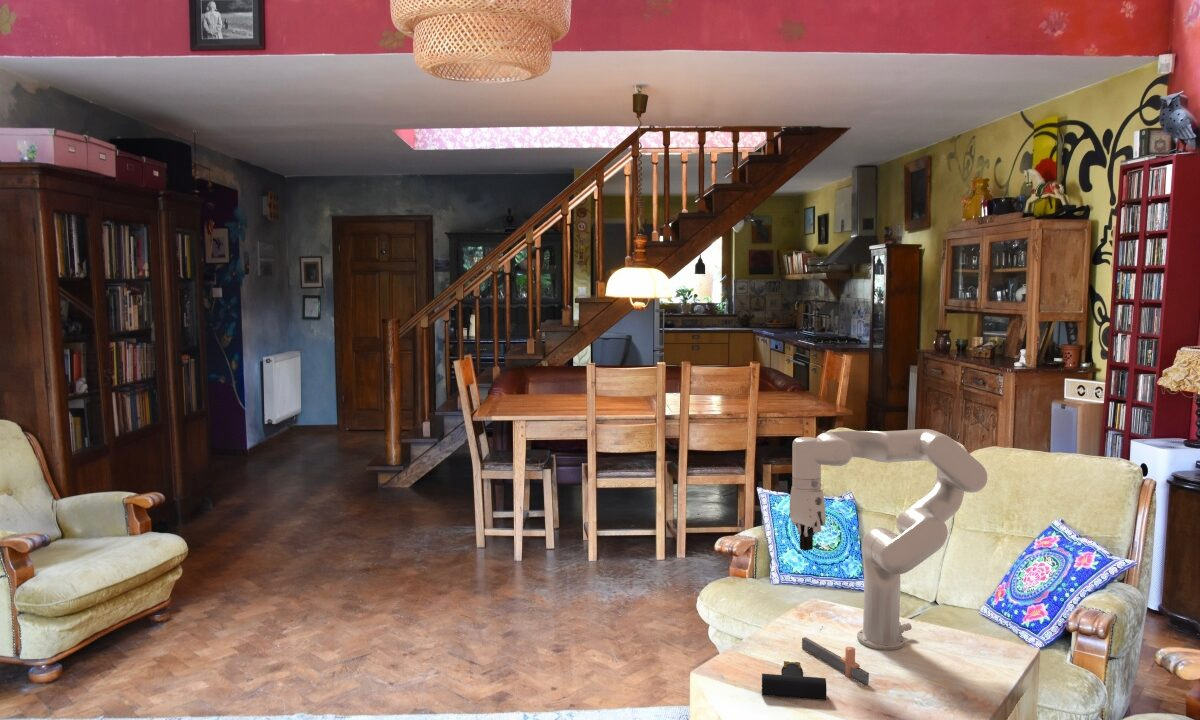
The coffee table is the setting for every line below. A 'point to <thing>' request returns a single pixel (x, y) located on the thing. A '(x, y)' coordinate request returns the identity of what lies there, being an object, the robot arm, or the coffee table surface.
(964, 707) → the coffee table surface
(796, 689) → the pipe connector
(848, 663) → the guide rail
